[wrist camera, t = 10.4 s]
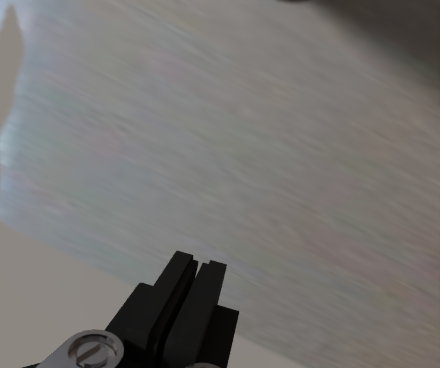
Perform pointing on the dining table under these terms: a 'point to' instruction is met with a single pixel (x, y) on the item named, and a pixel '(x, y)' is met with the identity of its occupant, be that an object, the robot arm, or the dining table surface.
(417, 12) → the dining table surface
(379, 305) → the dining table surface
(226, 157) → the dining table surface
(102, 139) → the dining table surface
